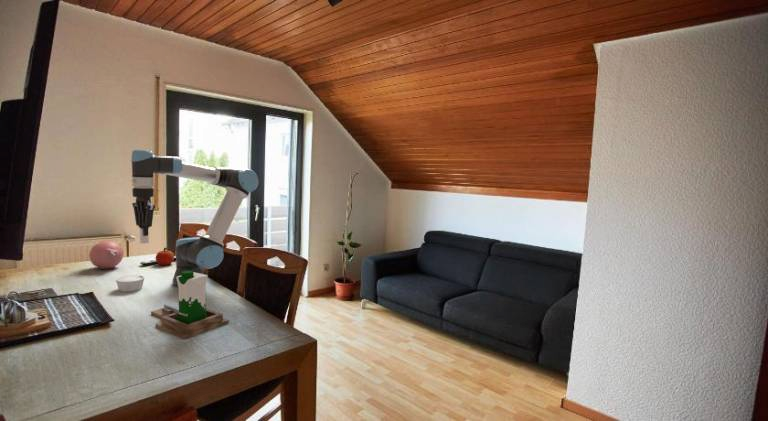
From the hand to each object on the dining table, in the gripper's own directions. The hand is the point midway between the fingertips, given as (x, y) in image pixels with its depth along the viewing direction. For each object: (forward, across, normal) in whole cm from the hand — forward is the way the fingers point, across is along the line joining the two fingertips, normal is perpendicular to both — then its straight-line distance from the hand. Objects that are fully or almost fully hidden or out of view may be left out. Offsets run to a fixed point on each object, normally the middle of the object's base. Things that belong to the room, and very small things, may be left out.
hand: (144, 242), depth 163 cm
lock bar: (+25, +25, -2) cm, 35 cm away
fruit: (+27, -54, +40) cm, 72 cm away
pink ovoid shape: (+27, -67, +16) cm, 74 cm away
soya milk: (+25, +36, -2) cm, 44 cm away
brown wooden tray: (+26, +30, -2) cm, 40 cm away
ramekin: (+27, -24, +6) cm, 36 cm away
